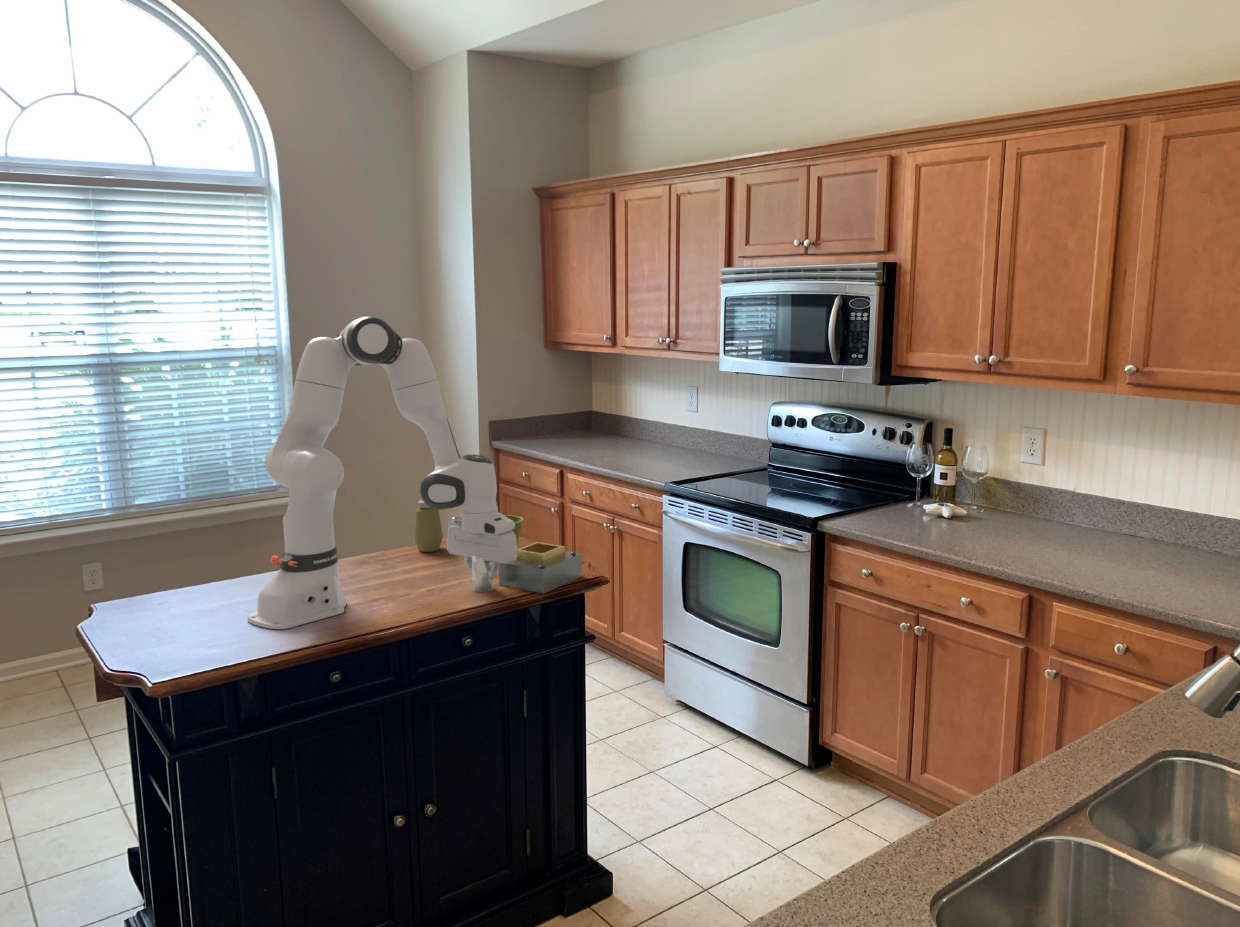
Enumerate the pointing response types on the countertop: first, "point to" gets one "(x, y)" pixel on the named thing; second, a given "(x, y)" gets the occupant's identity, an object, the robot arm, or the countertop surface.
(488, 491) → the robot arm
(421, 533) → the squeeze bottle
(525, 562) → the grey square housing block
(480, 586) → the spout can
